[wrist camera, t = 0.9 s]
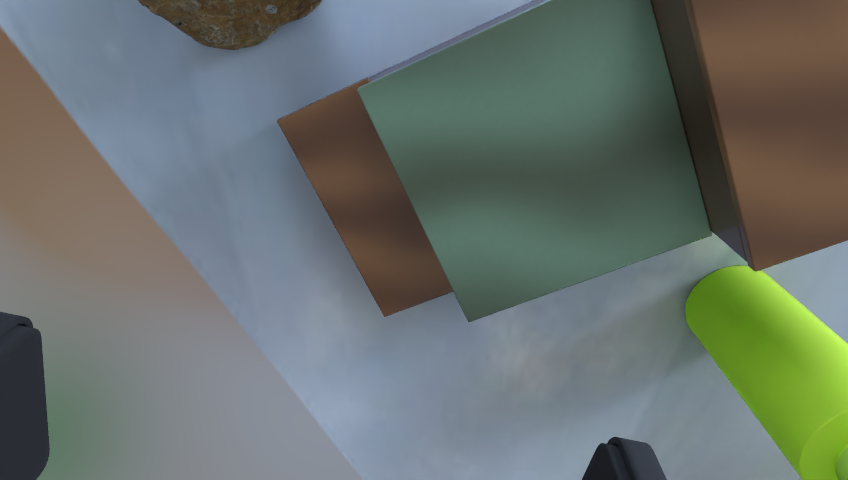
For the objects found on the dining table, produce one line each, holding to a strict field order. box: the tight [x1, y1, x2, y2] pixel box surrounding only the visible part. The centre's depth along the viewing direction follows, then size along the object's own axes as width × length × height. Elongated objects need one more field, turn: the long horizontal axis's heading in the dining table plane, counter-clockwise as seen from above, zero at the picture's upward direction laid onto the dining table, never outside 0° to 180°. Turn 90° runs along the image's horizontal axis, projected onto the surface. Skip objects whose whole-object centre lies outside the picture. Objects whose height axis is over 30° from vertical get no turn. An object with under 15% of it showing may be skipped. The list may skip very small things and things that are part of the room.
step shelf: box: [277, 0, 848, 322], centre depth 27 cm, size 13×24×11 cm, turn 114°
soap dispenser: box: [685, 266, 848, 480], centre depth 27 cm, size 6×7×20 cm
